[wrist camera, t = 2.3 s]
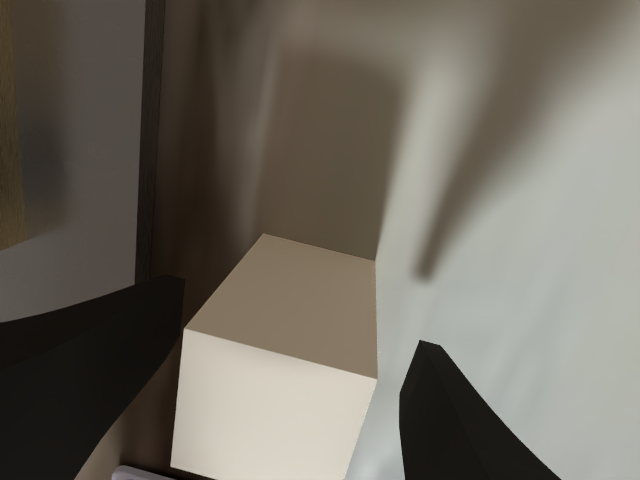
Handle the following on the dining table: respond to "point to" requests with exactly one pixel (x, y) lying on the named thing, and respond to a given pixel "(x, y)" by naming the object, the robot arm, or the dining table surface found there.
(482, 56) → the dining table surface
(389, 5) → the dining table surface
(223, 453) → the cream block
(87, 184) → the socket plate
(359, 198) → the dining table surface
